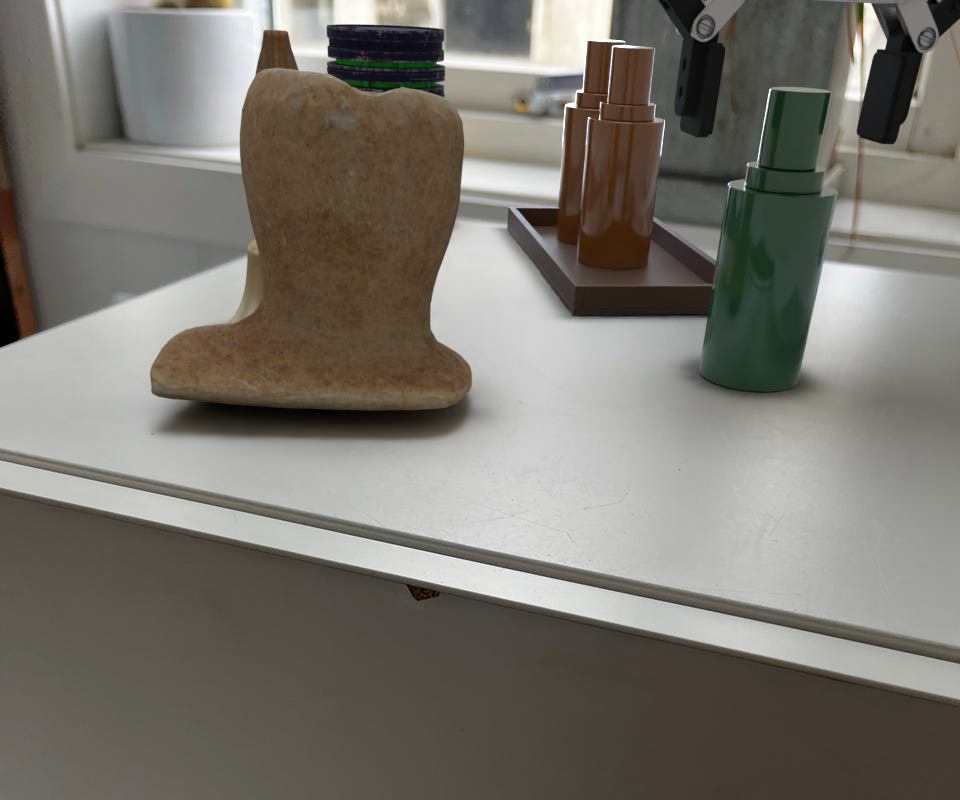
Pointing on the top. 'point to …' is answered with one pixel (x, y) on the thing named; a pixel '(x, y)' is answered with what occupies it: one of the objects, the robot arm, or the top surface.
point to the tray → (617, 271)
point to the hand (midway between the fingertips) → (786, 137)
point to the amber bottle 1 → (581, 135)
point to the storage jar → (387, 57)
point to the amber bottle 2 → (621, 167)
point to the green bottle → (771, 251)
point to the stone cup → (336, 254)
